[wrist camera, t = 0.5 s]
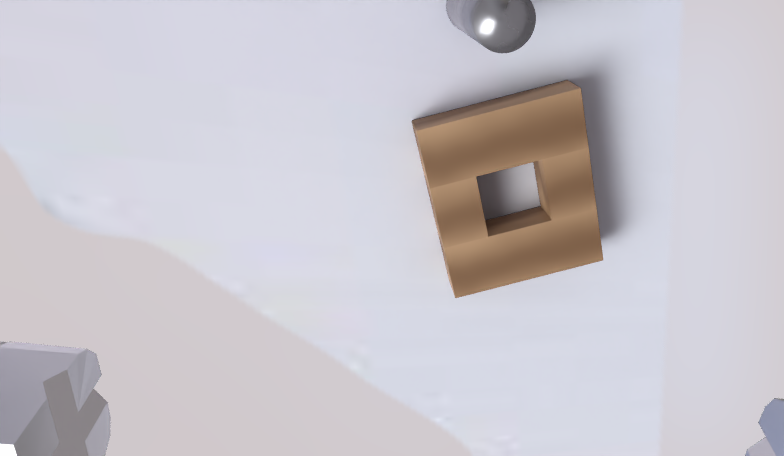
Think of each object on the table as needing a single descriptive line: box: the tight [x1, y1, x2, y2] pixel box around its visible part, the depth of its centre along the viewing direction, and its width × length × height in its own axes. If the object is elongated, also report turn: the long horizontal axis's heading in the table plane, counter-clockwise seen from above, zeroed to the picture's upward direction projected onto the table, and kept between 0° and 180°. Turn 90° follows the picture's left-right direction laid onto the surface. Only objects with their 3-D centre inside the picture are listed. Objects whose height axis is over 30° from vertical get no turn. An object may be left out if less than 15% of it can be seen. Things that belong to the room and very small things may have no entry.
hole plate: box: [412, 80, 603, 298], centre depth 53 cm, size 14×12×3 cm
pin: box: [446, 0, 536, 53], centre depth 44 cm, size 4×4×10 cm
